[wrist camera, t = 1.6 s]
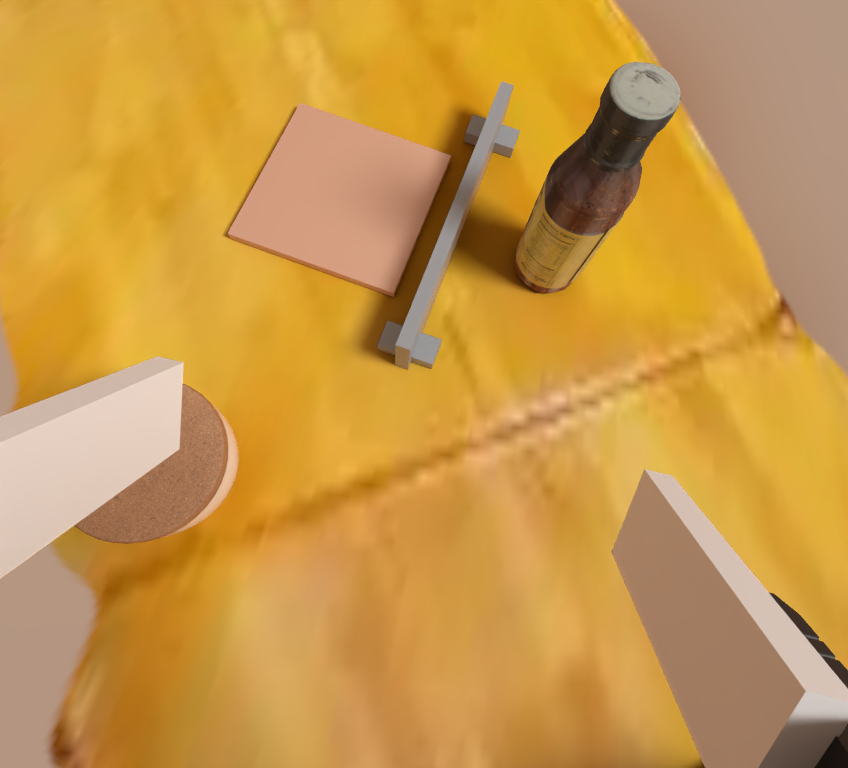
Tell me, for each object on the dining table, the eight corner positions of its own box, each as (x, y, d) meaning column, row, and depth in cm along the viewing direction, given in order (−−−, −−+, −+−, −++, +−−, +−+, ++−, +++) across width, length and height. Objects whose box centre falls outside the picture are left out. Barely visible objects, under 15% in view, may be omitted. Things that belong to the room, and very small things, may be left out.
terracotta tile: (450, 161, 48) (451, 155, 47) (393, 297, 43) (393, 293, 42) (301, 109, 48) (299, 102, 47) (230, 238, 44) (227, 233, 43)
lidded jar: (87, 497, 37) (-11, 491, 28) (170, 380, 40) (105, 340, 31) (206, 563, 36) (145, 579, 27) (281, 439, 39) (248, 416, 30)
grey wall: (519, 133, 49) (532, 92, 44) (428, 376, 41) (433, 358, 36) (473, 118, 49) (482, 74, 44) (374, 357, 41) (372, 336, 37)
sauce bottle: (555, 229, 46) (671, 26, 27) (588, 282, 45) (733, 109, 26) (496, 253, 45) (574, 59, 26) (528, 308, 44) (633, 147, 25)
